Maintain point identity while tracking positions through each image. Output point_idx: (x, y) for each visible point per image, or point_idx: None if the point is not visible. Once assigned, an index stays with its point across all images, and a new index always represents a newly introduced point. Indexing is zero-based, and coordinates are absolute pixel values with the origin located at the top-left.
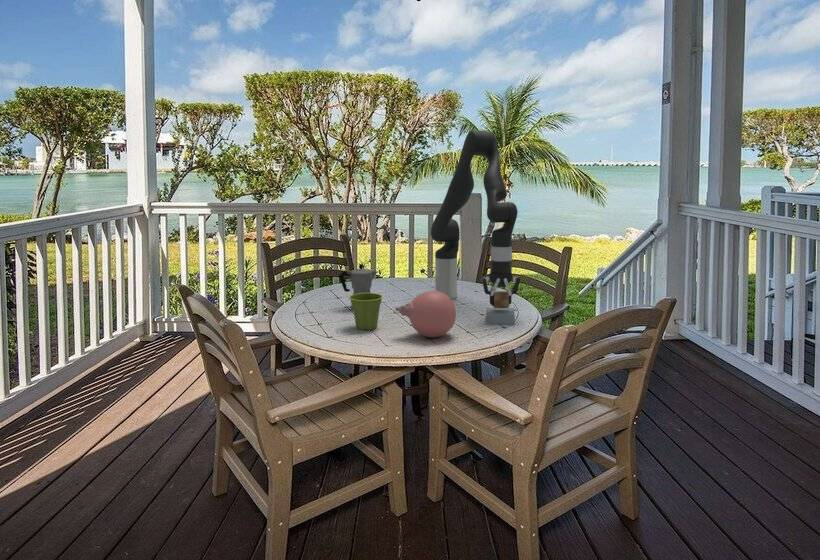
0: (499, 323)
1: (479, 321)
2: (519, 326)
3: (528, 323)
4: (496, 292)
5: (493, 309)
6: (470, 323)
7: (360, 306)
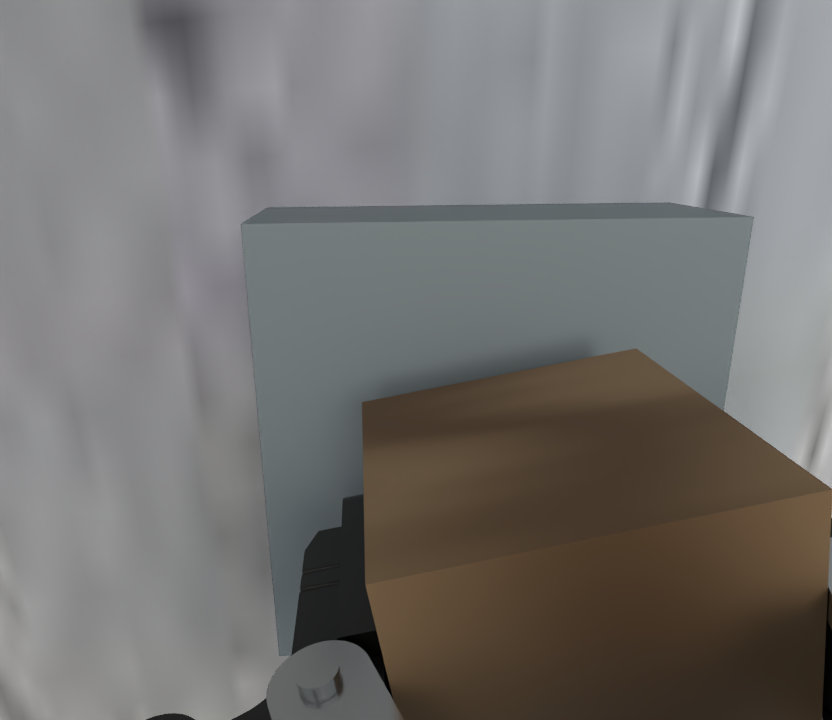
0: None
1: (196, 453)
2: None
3: (802, 458)
4: (496, 682)
5: (383, 349)
6: (94, 557)
7: None
